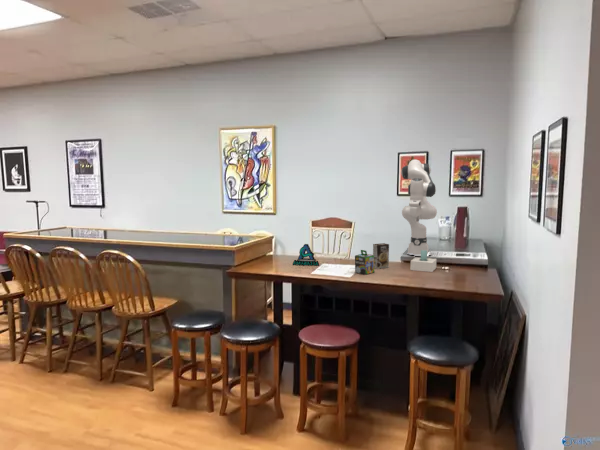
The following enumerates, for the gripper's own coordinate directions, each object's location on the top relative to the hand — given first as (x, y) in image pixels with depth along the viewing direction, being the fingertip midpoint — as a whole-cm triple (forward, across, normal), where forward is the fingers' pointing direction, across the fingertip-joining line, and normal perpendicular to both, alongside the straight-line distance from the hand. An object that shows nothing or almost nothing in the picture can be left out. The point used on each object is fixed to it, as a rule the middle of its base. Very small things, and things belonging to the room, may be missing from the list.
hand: (416, 222), depth 283 cm
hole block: (+29, +11, +8) cm, 32 cm away
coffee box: (+30, +17, -19) cm, 39 cm away
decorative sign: (+30, +31, -69) cm, 82 cm away
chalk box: (+29, +36, -24) cm, 53 cm away
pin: (+27, +10, +8) cm, 30 cm away
